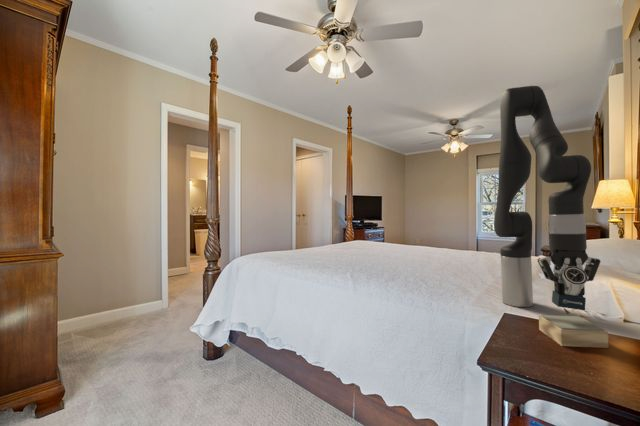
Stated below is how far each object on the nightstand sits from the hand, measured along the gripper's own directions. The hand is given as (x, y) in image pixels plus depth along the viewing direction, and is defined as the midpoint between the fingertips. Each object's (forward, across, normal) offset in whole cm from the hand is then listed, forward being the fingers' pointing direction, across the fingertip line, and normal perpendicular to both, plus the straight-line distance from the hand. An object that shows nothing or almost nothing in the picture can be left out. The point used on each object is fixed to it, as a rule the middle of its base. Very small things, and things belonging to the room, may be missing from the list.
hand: (569, 296), depth 76 cm
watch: (+3, 0, 0) cm, 3 cm away
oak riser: (+11, 0, 0) cm, 11 cm away
